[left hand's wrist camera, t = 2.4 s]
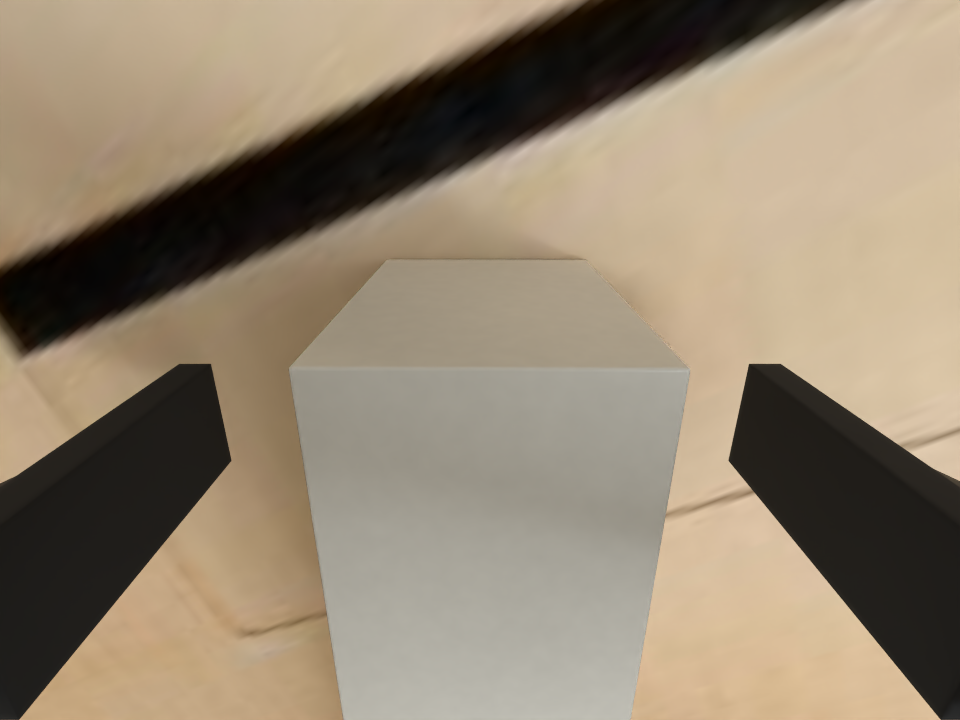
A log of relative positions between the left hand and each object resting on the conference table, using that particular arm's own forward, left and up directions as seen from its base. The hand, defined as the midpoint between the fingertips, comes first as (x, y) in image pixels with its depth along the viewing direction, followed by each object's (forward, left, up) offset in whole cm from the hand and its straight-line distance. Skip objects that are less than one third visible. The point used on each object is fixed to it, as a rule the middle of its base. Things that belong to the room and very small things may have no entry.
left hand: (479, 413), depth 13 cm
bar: (+9, +3, -3) cm, 10 cm away
